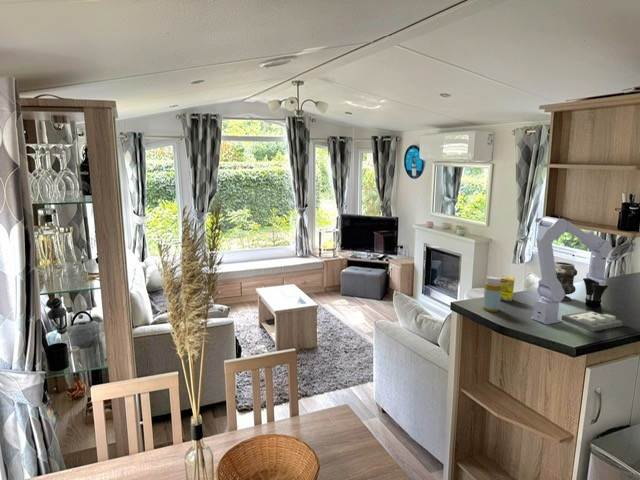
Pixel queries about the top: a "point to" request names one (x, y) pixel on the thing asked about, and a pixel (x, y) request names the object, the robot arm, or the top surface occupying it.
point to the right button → (609, 317)
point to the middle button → (599, 319)
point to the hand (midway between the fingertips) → (592, 297)
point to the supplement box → (507, 288)
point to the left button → (589, 321)
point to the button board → (577, 321)
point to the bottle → (492, 294)
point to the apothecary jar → (566, 277)
